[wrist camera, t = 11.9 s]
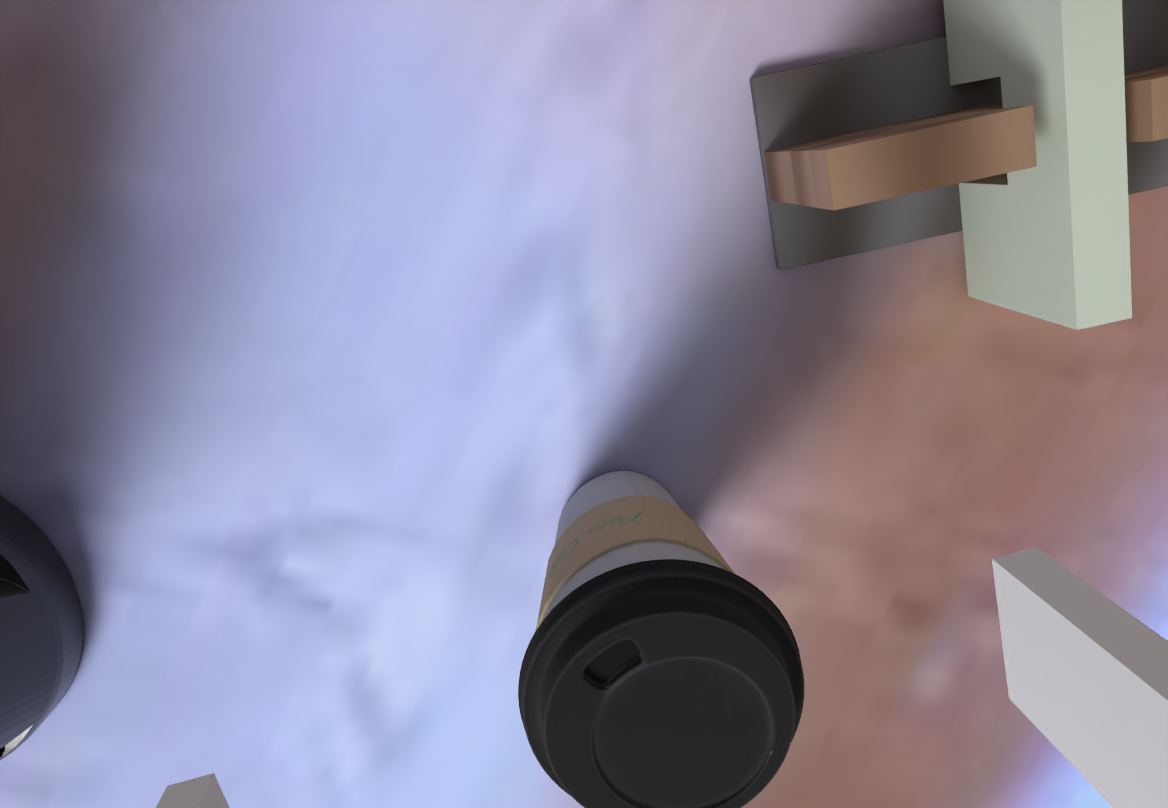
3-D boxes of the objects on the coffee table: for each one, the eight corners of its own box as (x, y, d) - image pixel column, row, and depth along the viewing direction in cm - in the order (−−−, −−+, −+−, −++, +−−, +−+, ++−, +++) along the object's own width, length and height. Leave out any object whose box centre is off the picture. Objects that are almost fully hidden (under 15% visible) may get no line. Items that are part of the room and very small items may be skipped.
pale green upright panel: (1012, 287, 39) (1131, 317, 31) (968, 296, 39) (1076, 329, 31) (988, -55, 35) (1118, -117, 27) (939, -45, 35) (1055, -104, 27)
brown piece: (777, 268, 38) (844, 297, 30) (749, 79, 36) (814, 54, 28) (1175, 181, 38) (1351, 187, 30) (1171, -12, 36) (1361, -64, 28)
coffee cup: (569, 405, 40) (591, 544, 25) (753, 478, 41) (874, 649, 27) (491, 580, 42) (471, 802, 27) (669, 644, 43) (739, 886, 29)
